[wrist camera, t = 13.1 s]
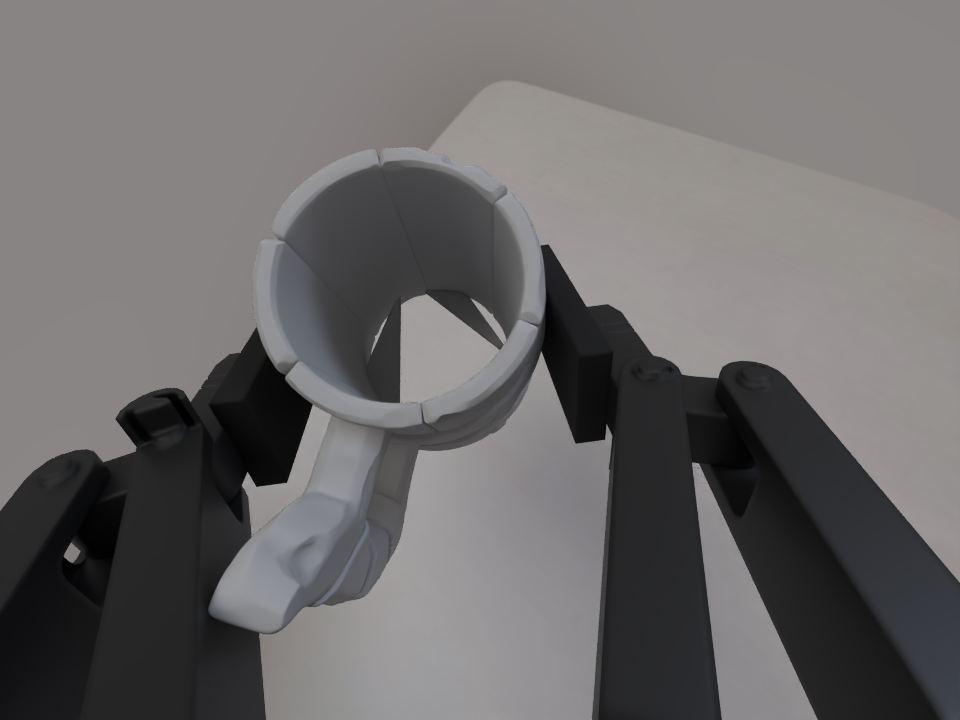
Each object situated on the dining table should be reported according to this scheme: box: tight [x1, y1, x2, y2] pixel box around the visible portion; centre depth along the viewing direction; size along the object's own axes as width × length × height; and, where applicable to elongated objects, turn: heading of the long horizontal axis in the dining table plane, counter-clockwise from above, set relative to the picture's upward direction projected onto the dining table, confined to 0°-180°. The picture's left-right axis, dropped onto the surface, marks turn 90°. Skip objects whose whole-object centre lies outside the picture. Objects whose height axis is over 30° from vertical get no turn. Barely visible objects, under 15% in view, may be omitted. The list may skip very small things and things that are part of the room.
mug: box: [208, 147, 547, 634], centre depth 13 cm, size 8×12×12 cm, turn 164°
